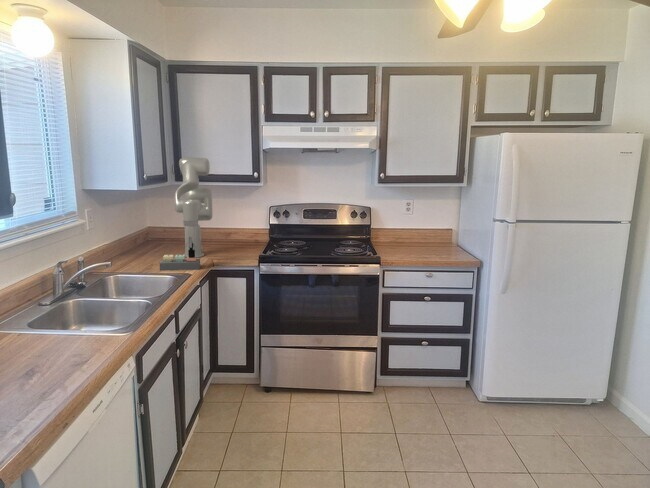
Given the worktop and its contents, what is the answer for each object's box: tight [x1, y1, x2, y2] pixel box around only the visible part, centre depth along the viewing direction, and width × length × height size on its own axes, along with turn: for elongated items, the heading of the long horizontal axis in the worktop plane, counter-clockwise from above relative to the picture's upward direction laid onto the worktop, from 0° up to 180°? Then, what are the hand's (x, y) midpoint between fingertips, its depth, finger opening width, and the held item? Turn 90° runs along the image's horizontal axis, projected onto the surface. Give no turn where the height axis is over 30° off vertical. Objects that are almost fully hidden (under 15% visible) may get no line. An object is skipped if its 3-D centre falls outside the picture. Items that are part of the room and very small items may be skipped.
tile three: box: [186, 257, 198, 262], centre depth 231 cm, size 5×5×5 cm
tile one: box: [162, 254, 175, 262], centre depth 229 cm, size 5×5×5 cm
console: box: [159, 258, 201, 272], centre depth 230 cm, size 20×9×4 cm, turn 103°
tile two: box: [174, 254, 186, 262], centre depth 230 cm, size 5×5×5 cm
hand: (191, 257), depth 231 cm, fingers closed
